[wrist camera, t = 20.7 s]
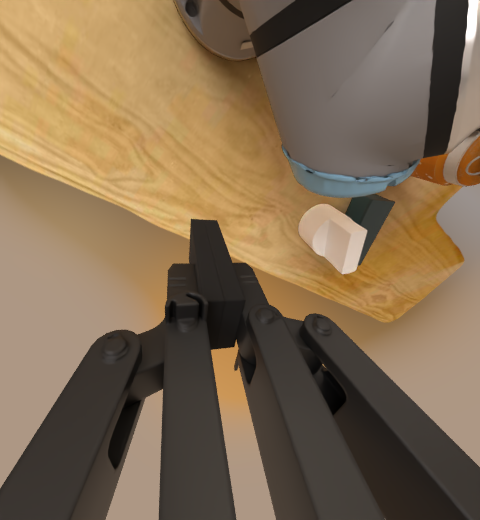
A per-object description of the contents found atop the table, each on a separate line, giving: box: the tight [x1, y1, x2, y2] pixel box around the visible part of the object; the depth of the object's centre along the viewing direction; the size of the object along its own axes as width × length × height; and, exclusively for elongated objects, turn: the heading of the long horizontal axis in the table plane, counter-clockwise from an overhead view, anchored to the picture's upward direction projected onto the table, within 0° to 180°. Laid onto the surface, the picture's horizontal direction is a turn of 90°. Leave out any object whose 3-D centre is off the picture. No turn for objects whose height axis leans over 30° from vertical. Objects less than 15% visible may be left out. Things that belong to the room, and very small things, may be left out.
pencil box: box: [345, 194, 395, 265], centre depth 48 cm, size 15×6×5 cm, turn 171°
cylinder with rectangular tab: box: [298, 204, 368, 274], centre depth 43 cm, size 9×9×12 cm
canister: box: [410, 128, 480, 186], centre depth 33 cm, size 9×11×20 cm
